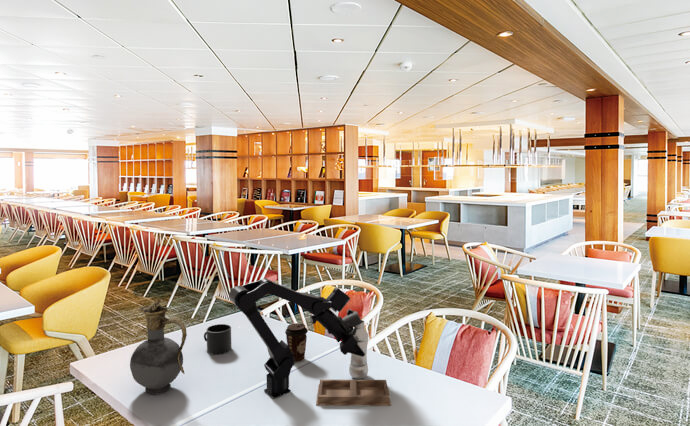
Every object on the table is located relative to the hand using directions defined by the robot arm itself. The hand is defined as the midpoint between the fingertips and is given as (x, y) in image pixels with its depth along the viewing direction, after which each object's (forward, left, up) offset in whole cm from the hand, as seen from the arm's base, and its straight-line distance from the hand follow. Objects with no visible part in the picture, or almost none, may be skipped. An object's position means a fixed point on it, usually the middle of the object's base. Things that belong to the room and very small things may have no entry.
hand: (362, 351), depth 149 cm
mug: (-28, +56, -9) cm, 63 cm away
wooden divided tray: (-11, -7, -9) cm, 16 cm away
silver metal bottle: (-1, +1, -9) cm, 9 cm away
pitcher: (-56, +37, -9) cm, 68 cm away
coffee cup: (-9, +27, -9) cm, 30 cm away
